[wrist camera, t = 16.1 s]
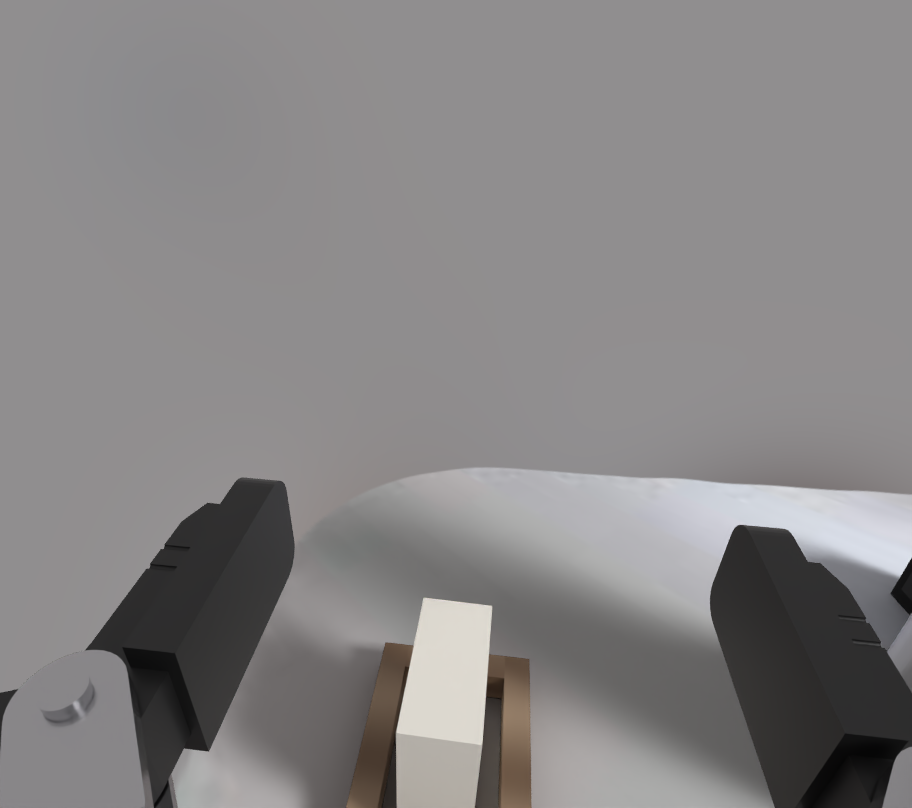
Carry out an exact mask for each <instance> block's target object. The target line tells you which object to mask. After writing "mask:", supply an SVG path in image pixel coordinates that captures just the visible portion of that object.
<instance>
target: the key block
mask: <svg viewBox="0 0 912 808" xmlns="http://www.w3.org/2000/svg"><path fill="white" fill-rule="evenodd" d="M491 617H492V606H489V605H481V604H472V603H464V602H456V601H448V600H440V599H431V598H424V599H423V604H422V608H421V613H420V618H419V623H418V628H417V633H416V638H415V643H414V648H413V652H412V657H411V662H410V667H409V672H408V677H407V682H406V687H405V692H404V696H403V701H402V706H401V711H400V716H399V721H398V726H397V731H396V782H397V808H475V801H476V793H477V785H478V777H479V768H480V760H481V752H482V743H483V729H484V715H485V701H486V687H487V673H488V659H489V645H490V631H491Z"/></svg>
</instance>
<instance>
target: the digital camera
mask: <svg viewBox="0 0 912 808" xmlns="http://www.w3.org/2000/svg"><path fill="white" fill-rule="evenodd" d="M891 594H892V595H893V596H894V597H895V599H896V600H897V601H898V602H899V603H900V604H901V605H902V607H903V608H904V609H905V610H906V611H907V612H908V613H909V614H910V615H911V613H912V558H911V560H910V562H909V563H908V565H907V567H906V568H905V570H904V572H903V574H902V575H901V577H900V579H899V580H898V582H897V584H896V585H895V587H894V589H893V590H892V592H891Z"/></svg>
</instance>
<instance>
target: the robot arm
mask: <svg viewBox="0 0 912 808" xmlns="http://www.w3.org/2000/svg"><path fill="white" fill-rule="evenodd" d="M293 559H294V537H293V531H292V524H291V517H290V511H289V504H288V497H287V491H286V487H285V484H284V483H283V482H282V481H274V480H263V479H253V478H240V479H238V480H237V481H236V482H235V483H234V485H233V486H232V488H231V489H230V490H229V492H228V493H227V495H226V496H225V498H224V499H223V501H222V502H221V504H213V503H207V504H206V505H204V506H203V507H201V508H200V509H198V510H197V511H196V512H194V513H193V514H191V515H190V516H189V517H188V518H186V519H185V520H183V521H182V522H181V523H180V525H179V526H178V527H177V529H176V530H175V531H174V533H173V534H172V535H171V537H170V538H169V539H168V541H167V542H166V543H165V547H164V549H161V550H160V551H159V553H158V554H157V555H156V557H155V558H154V559H153V561H152V562H151V563H150V568H149V569H146V570H145V572H144V573H143V574H142V576H141V577H140V578H139V580H138V581H137V582H136V584H135V585H134V586H133V588H132V589H131V591H130V592H129V593H128V595H127V596H126V597H125V599H124V600H123V601H122V603H121V604H120V605H119V606H118V608H117V609H116V611H115V612H114V613H113V615H112V616H111V617H110V619H109V620H108V621H107V623H106V624H105V625H104V627H103V628H102V629H101V631H100V632H99V633H98V635H97V636H96V637H95V639H94V640H93V641H92V643H91V644H90V645H89V646H88V648H87V649H86V650H85V651H81V652H76V653H73V654H70V655H67V656H64V657H62V658H60V659H57V660H55V661H54V662H52V663H50V664H48V665H46V666H45V667H43V668H42V669H40V670H39V671H38V672H36V673H35V674H34V675H32V676H31V677H30V678H29V679H28V680H27V681H26V682H25V683H24V684H23V685H22V686H21V687H20V688H19V689H17V690H12V691H8V692H3V693H0V808H178V806H177V800H176V794H175V789H174V783H173V779H172V775H171V773H172V771H173V769H174V767H175V765H176V763H177V761H178V759H179V757H180V755H181V753H182V751H183V749H184V748H185V749H193V750H201V751H209V750H210V748H211V746H212V743H213V741H214V739H215V737H216V735H217V732H218V730H219V728H220V726H221V724H222V722H223V719H224V717H225V715H226V713H227V711H228V708H229V706H230V704H231V702H232V700H233V697H234V695H235V693H236V691H237V689H238V687H239V684H240V682H241V680H242V678H243V676H244V673H245V671H246V669H247V667H248V665H249V662H250V660H251V658H252V656H253V654H254V651H255V649H256V647H257V645H258V643H259V641H260V638H261V636H262V634H263V632H264V630H265V627H266V625H267V623H268V621H269V619H270V616H271V614H272V612H273V610H274V608H275V606H276V603H277V601H278V599H279V597H280V595H281V592H282V590H283V588H284V586H285V584H286V581H287V579H288V577H289V574H290V572H291V568H292V564H293ZM710 610H711V617H712V621H713V624H714V627H715V630H716V633H717V636H718V639H719V642H720V645H721V648H722V651H723V654H724V657H725V660H726V663H727V666H728V669H729V672H730V675H731V678H732V681H733V684H734V687H735V690H736V693H737V696H738V699H739V702H740V705H741V708H742V711H743V714H744V717H745V720H746V723H747V726H748V728H749V731H750V734H751V737H752V740H753V743H754V746H755V749H756V752H757V755H758V758H759V761H760V764H761V767H762V770H763V773H764V776H765V779H766V782H767V785H768V788H769V791H770V794H771V797H772V800H773V803H774V806H775V808H912V613H911V615H910V617H909V618H908V620H907V621H906V623H905V624H904V626H903V627H902V629H901V631H900V632H899V634H898V635H897V637H896V638H895V640H894V641H893V643H892V645H891V646H890V648H889V649H888V651H886V650H885V648H881V646H880V643H881V642H880V640H879V638H878V637H877V635H876V633H875V632H874V630H873V629H872V627H871V625H870V624H869V623H866V621H865V619H866V617H865V615H864V614H863V612H862V611H861V609H860V607H859V606H858V604H857V602H856V601H855V599H854V598H853V596H852V594H851V593H850V591H849V589H848V588H847V587H846V586H844V585H843V584H842V583H841V582H840V581H839V580H838V579H837V578H836V577H835V576H834V575H832V574H831V573H830V572H829V571H828V570H827V569H826V568H825V567H824V566H823V565H822V564H820V563H812V562H807V560H806V558H805V556H804V555H803V553H802V551H801V549H800V548H799V546H798V544H797V542H796V540H795V539H794V537H793V536H792V534H791V533H790V532H789V531H788V530H786V529H779V528H769V527H758V526H747V525H738V526H737V527H736V528H735V529H734V530H733V532H732V534H731V537H730V539H729V542H728V545H727V547H726V550H725V553H724V555H723V558H722V561H721V563H720V566H719V569H718V571H717V574H716V577H715V579H714V582H713V585H712V588H711V595H710Z"/></svg>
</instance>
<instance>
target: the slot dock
mask: <svg viewBox="0 0 912 808" xmlns="http://www.w3.org/2000/svg"><path fill="white" fill-rule="evenodd" d="M413 648H414V646H412V645H404V644H395V643H385V647H384V651H383V655H382V660H381V664H380V668H379V672H378V676H377V680H376V685H375V689H374V693H373V697H372V701H371V705H370V710H369V714H368V718H367V722H366V726H365V730H364V735H363V739H362V743H361V747H360V751H359V755H358V760H357V764H356V768H355V772H354V776H353V780H352V785H351V789H350V793H349V797H348V801H347V805H346V808H382V805H383V800H384V795H385V789H386V784H387V779H388V774H389V768H390V763H391V758H392V753H393V747H394V742H395V737H396V731H397V726H398V721H399V716H400V711H401V705H402V700H403V695H404V690H405V687H406V682H407V677H408V672H409V667H410V662H411V657H412V652H413ZM486 697H492V698H500V699H502V701H501V732H500V764H499V795H498V808H531V747H530V673H529V659H524V658H516V657H507V656H498V655H490V654H489V659H488V673H487V687H486Z"/></svg>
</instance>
